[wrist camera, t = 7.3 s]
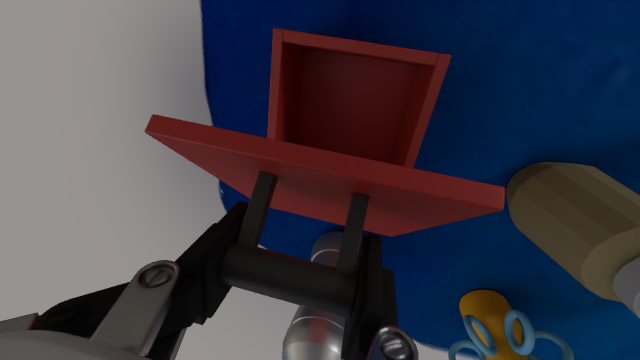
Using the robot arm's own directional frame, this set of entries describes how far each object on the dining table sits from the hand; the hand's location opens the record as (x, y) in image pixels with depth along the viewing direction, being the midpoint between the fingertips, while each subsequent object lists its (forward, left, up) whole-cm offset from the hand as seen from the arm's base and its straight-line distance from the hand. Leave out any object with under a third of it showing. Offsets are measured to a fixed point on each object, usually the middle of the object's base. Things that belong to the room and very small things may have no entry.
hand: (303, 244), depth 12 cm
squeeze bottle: (+1, +21, -19) cm, 28 cm away
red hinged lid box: (-2, 0, -19) cm, 19 cm away
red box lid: (0, 0, -5) cm, 5 cm away
